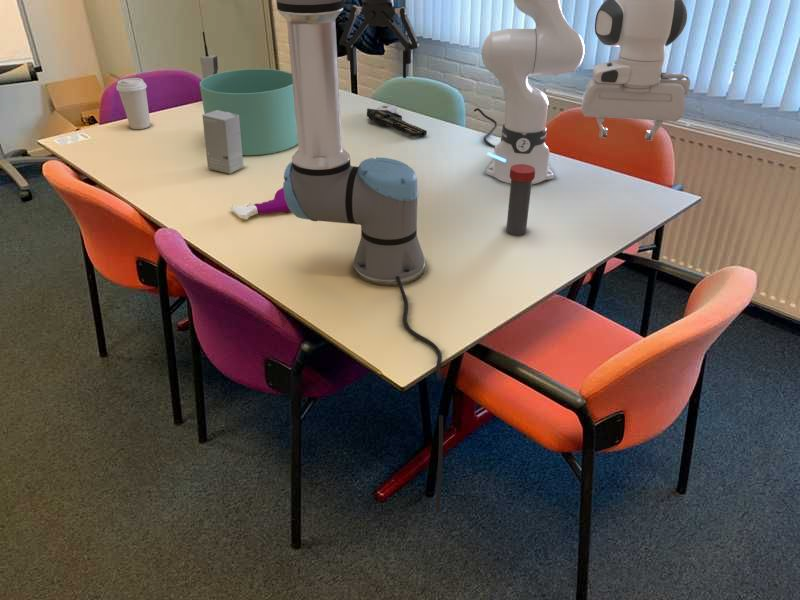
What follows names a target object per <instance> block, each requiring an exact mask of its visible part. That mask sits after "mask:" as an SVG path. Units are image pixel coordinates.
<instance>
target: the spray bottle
mask: <svg viewBox="0 0 800 600" xmlns="http://www.w3.org/2000/svg"><path fill="white" fill-rule="evenodd" d="M229 208H230V210H231V212H232V213H233V214H235V216H237V217H238V218H240V219H243V220H248V219H249V218H250V217H252V216H254V215H257V214H258V215H264V214H274V213H290V212H291V211H290V209H289V208H288V205H287V203H286V199H285V195H284V188H283V187H281V188H279V189H278V190H276V192H275V194H274V197H273V199H271V200H267V201H263V202H261V203H254V204H253V205H251V203H250V202H248V203H247V204H244V205H242V206H240V205H239V206H238V205H237V206H234V205H230V206H229Z"/></svg>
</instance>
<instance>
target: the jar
mask: <svg viewBox="0 0 800 600" xmlns="http://www.w3.org/2000/svg"><path fill="white" fill-rule="evenodd" d="M532 185H533V184H532V181H529V182H517V181H514V180H512V179H511V184H510V188H509V196H508V197H509V199H508V207H507V218H506V227H505V231H506V233H507V234H509V235H512V236H523V235H525V234H526V233H527V226H528V217H529V209H530V203H531V202H530V200H531V193H532Z"/></svg>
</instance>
